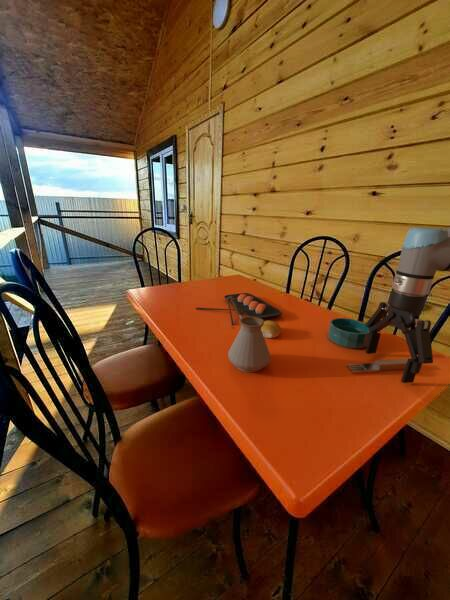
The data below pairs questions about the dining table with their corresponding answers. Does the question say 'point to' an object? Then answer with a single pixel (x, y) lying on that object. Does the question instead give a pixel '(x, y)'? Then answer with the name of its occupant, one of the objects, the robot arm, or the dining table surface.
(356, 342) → the bowl
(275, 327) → the bread roll
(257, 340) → the coffee pot
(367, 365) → the fork
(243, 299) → the sushi plate
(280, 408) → the dining table surface
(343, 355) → the dining table surface
